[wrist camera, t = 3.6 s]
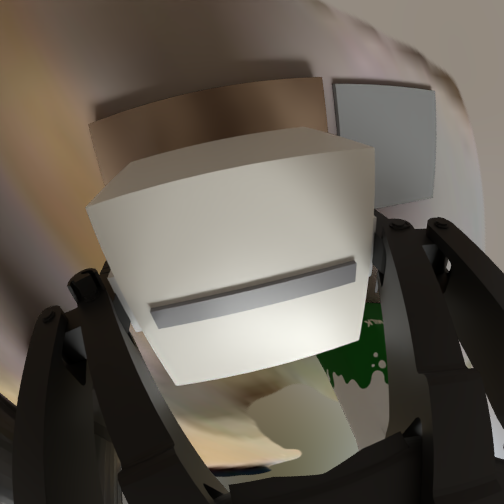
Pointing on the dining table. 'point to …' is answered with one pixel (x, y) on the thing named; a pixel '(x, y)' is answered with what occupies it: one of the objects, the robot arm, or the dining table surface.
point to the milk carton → (362, 378)
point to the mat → (392, 137)
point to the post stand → (206, 119)
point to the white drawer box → (242, 248)
